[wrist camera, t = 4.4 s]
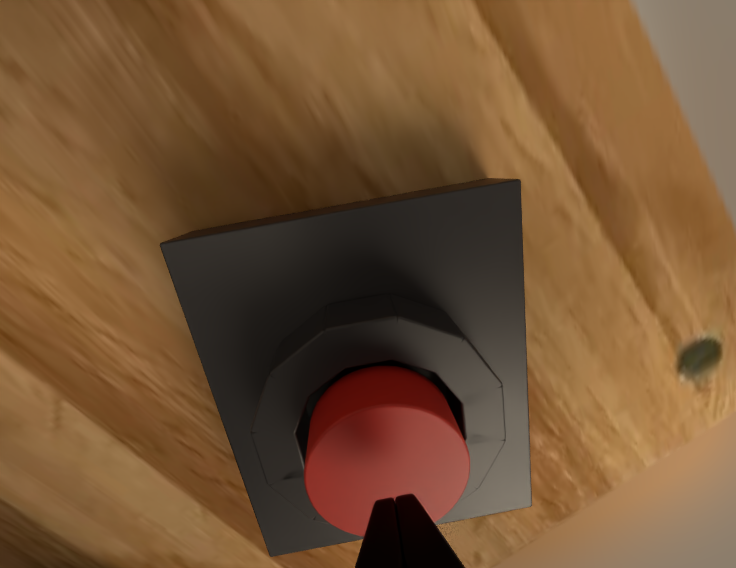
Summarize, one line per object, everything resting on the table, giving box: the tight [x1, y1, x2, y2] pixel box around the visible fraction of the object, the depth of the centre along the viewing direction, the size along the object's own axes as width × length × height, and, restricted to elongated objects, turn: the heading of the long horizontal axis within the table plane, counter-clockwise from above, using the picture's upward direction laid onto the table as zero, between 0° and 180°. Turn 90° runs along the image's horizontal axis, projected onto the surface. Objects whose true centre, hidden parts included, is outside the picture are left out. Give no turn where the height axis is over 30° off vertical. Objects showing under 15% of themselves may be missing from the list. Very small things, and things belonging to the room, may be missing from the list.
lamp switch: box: [160, 178, 532, 557], centre depth 12 cm, size 12×10×4 cm
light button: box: [304, 365, 470, 537], centre depth 9 cm, size 4×4×2 cm
